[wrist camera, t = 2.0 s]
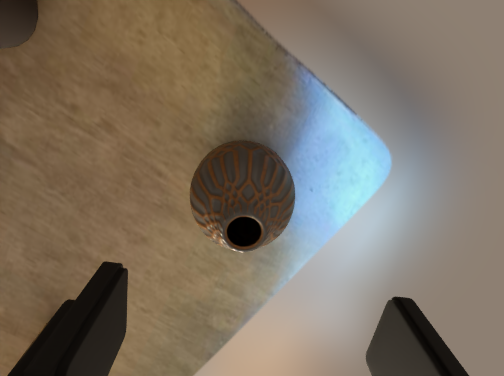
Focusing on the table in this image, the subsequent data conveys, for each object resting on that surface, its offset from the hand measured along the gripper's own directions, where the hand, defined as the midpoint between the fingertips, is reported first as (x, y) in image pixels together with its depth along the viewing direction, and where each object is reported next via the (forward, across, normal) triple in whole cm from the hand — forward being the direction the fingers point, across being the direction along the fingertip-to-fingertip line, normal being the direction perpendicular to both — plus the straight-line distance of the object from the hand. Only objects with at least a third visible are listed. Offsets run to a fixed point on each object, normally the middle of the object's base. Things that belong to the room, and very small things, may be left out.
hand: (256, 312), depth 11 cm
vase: (+14, +1, 0) cm, 14 cm away
